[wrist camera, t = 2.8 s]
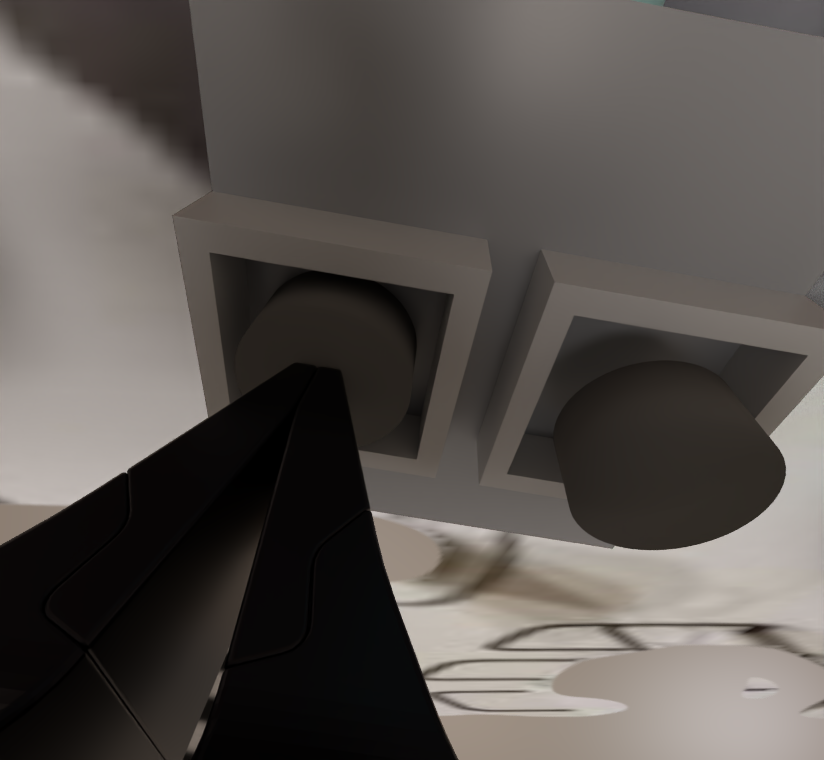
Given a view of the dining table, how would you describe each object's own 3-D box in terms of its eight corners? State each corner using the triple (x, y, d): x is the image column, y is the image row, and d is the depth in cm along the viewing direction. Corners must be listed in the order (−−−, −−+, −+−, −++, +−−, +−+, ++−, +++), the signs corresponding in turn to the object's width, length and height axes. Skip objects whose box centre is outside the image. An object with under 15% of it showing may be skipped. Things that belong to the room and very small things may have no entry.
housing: (310, 357, 19) (229, 532, 12) (314, -25, 11) (112, -118, 5) (566, 400, 19) (626, 594, 12) (730, 55, 12) (1095, 73, 5)
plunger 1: (267, 388, 10) (241, 434, 9) (258, 254, 8) (224, 292, 7) (405, 411, 10) (399, 459, 9) (428, 284, 8) (424, 325, 7)
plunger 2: (531, 471, 9) (542, 535, 8) (591, 346, 7) (617, 404, 6) (679, 496, 9) (711, 561, 8) (776, 377, 8) (836, 440, 6)
